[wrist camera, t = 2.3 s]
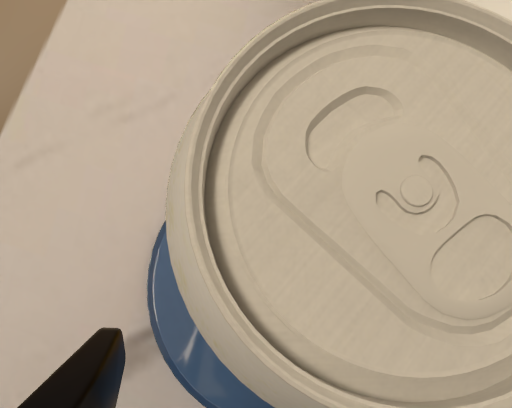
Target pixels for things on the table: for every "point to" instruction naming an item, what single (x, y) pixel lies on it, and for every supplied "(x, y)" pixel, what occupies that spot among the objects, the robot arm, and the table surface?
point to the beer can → (355, 208)
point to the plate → (189, 340)
